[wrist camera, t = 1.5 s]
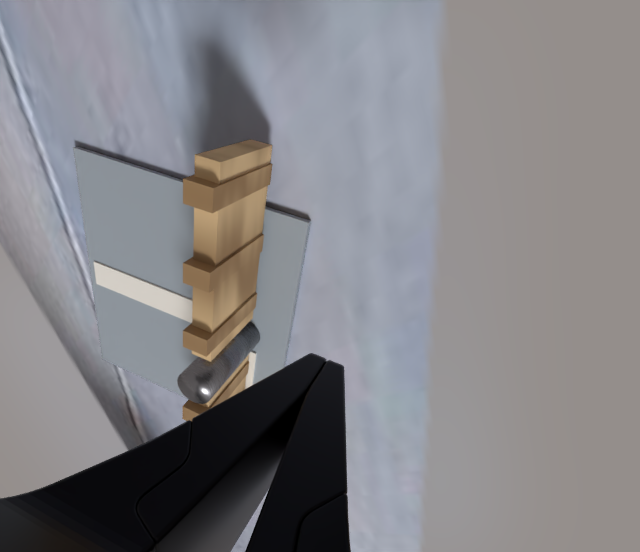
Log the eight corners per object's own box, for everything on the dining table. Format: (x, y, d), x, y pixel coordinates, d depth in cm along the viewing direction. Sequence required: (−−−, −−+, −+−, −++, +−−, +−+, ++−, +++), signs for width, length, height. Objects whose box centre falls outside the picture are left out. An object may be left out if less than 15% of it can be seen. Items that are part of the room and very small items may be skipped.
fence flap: (254, 318, 21) (205, 369, 17) (234, 311, 21) (182, 359, 18) (274, 145, 16) (214, 166, 13) (248, 138, 17) (182, 156, 13)
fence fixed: (241, 430, 25) (201, 488, 22) (225, 422, 26) (182, 478, 22) (250, 355, 22) (204, 409, 19) (231, 347, 22) (182, 399, 19)
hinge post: (261, 347, 23) (209, 409, 18) (233, 336, 23) (177, 394, 19) (264, 322, 22) (211, 382, 18) (235, 311, 22) (177, 366, 18)
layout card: (272, 434, 26) (270, 438, 25) (105, 356, 29) (101, 360, 28) (310, 220, 18) (307, 223, 18) (78, 146, 21) (71, 147, 21)
